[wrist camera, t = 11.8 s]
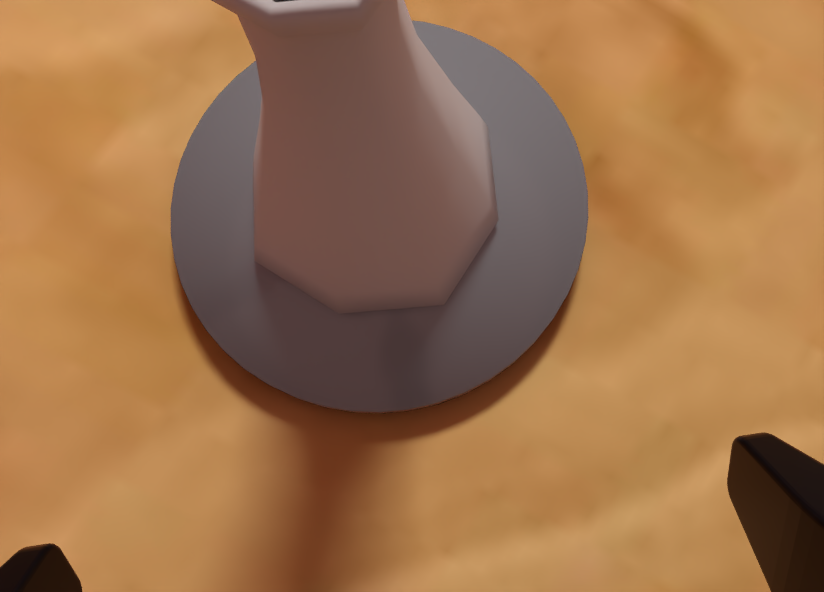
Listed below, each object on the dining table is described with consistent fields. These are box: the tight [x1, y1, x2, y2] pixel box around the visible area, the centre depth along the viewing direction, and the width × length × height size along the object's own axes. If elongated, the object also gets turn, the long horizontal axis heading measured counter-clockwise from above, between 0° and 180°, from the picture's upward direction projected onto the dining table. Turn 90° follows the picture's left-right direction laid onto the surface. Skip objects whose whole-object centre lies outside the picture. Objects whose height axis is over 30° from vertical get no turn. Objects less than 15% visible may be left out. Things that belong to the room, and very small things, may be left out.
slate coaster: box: [171, 21, 588, 414], centre depth 20 cm, size 12×12×1 cm
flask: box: [212, 0, 499, 314], centre depth 14 cm, size 7×7×10 cm
